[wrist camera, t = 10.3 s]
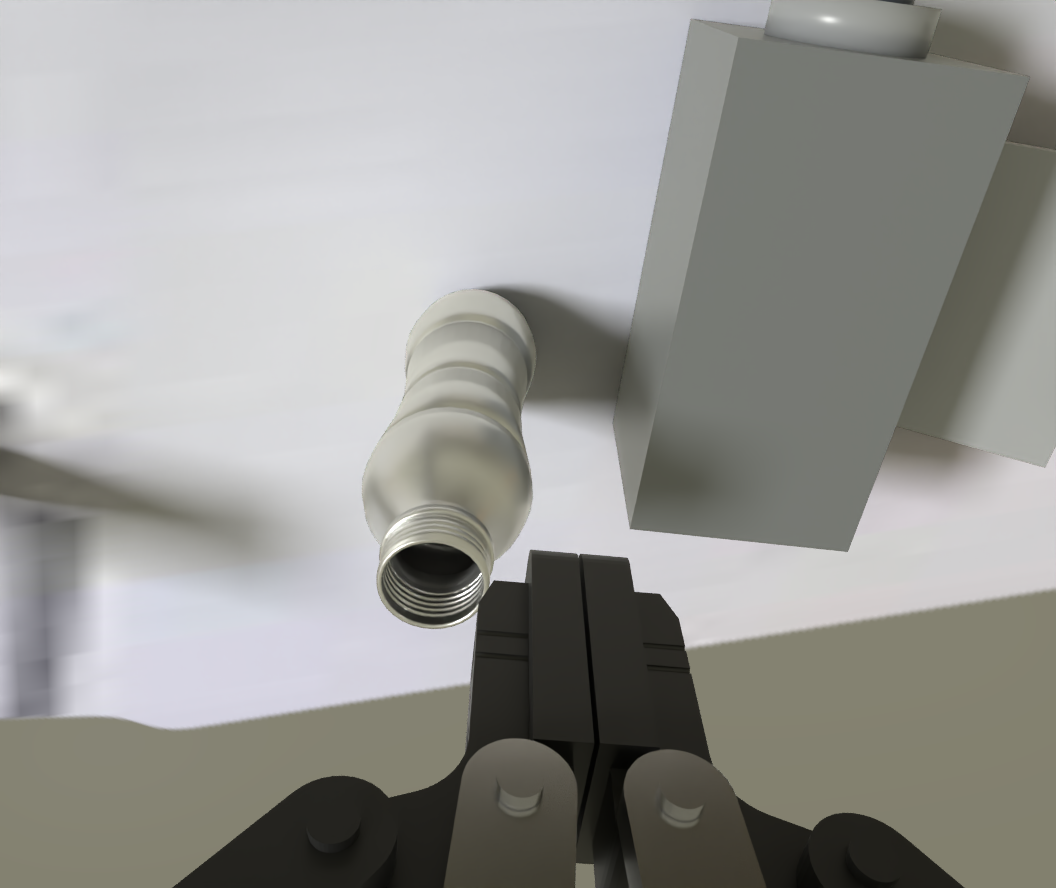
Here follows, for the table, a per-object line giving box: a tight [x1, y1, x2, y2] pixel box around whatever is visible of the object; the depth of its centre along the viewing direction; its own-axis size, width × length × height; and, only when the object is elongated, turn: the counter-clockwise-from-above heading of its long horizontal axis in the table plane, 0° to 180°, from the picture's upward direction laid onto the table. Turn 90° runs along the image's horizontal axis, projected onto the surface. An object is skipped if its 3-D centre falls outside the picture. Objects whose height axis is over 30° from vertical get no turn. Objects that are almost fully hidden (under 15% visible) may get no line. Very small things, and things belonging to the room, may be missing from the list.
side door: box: [896, 141, 1056, 468], centre depth 39 cm, size 14×1×13 cm
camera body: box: [613, 0, 1030, 552], centre depth 37 cm, size 22×10×10 cm, turn 173°
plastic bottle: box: [362, 289, 536, 629], centre depth 35 cm, size 6×7×20 cm
